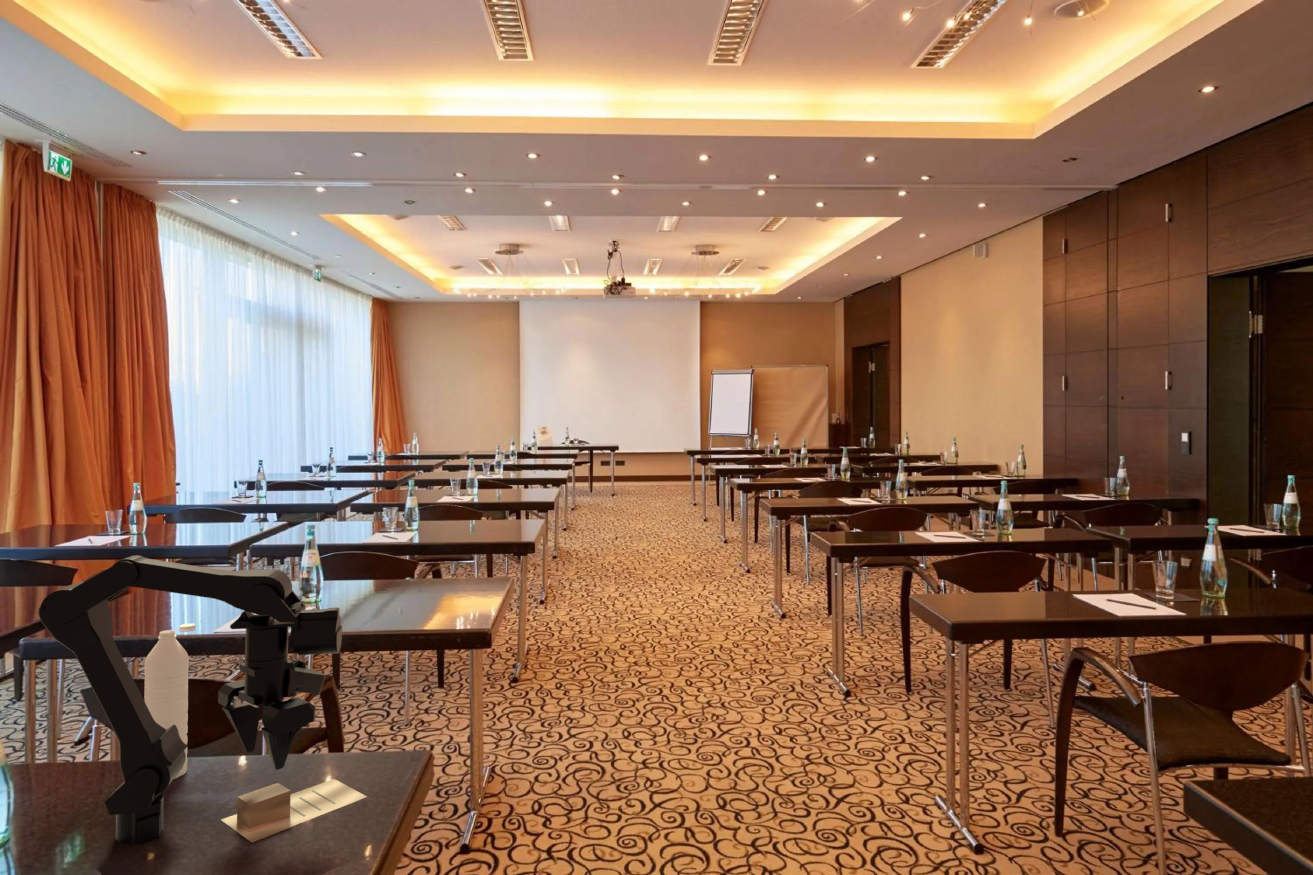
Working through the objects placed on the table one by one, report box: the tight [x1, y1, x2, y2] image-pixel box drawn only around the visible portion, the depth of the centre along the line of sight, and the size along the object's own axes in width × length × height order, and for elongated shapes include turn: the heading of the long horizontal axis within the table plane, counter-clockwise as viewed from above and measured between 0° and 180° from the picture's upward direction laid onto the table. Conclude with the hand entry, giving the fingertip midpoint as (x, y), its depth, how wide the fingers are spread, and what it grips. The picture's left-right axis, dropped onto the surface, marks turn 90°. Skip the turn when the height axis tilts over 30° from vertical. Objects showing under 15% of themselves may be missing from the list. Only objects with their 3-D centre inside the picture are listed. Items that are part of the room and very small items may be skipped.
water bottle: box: [143, 623, 196, 780], centre depth 135 cm, size 9×6×25 cm
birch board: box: [220, 778, 368, 843], centre depth 120 cm, size 10×18×2 cm, turn 142°
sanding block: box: [236, 782, 292, 832], centre depth 116 cm, size 4×6×4 cm, turn 142°
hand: (264, 759), depth 116 cm, fingers open, 9 cm apart
